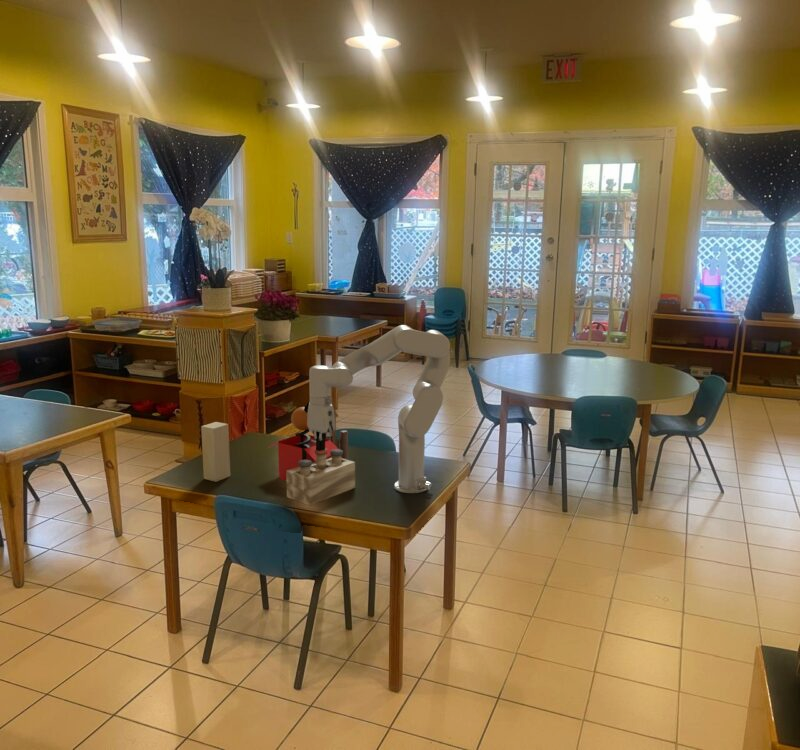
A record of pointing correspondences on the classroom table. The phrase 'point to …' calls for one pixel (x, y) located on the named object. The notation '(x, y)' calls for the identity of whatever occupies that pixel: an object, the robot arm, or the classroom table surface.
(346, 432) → the wooden toy
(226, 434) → the toy refrigerator
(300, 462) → the plug
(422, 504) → the classroom table surface
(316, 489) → the wooden cylinder block
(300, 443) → the jack-in-the-box
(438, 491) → the classroom table surface
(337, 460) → the plug
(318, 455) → the plug mid
